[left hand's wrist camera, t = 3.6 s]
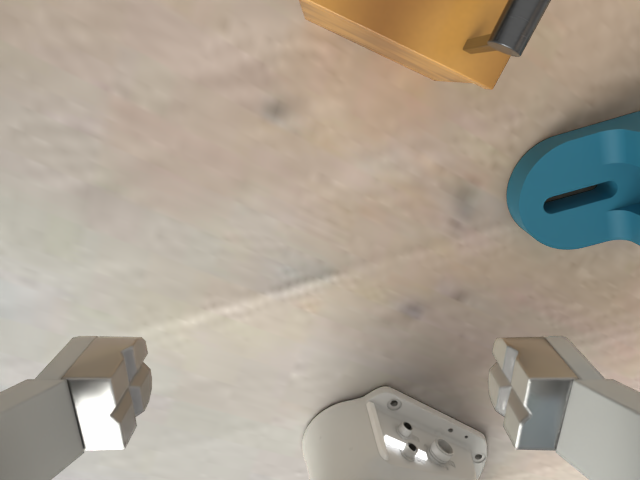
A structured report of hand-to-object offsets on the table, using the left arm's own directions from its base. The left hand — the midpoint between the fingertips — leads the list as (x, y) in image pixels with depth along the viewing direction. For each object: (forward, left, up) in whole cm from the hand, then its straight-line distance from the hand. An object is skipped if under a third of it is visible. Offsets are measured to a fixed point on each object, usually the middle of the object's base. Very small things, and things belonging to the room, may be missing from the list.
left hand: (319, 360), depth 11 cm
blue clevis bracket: (-26, -6, -34) cm, 44 cm away
